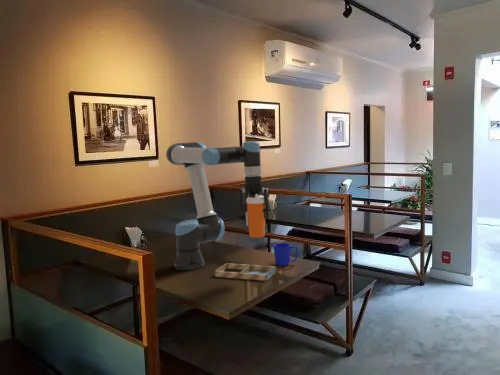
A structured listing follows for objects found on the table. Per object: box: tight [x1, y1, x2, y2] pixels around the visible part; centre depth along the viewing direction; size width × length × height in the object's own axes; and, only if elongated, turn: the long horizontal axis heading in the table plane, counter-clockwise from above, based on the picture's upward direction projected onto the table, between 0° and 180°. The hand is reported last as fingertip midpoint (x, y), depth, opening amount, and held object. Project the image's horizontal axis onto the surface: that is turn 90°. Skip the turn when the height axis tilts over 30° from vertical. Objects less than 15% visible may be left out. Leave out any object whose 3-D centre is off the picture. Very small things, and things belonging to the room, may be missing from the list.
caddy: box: [213, 262, 277, 282], centre depth 195 cm, size 26×13×2 cm, turn 68°
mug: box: [273, 242, 299, 267], centre depth 206 cm, size 8×12×10 cm
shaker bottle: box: [245, 191, 266, 238], centre depth 190 cm, size 9×9×20 cm
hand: (255, 225), depth 190 cm, fingers open, 6 cm apart
